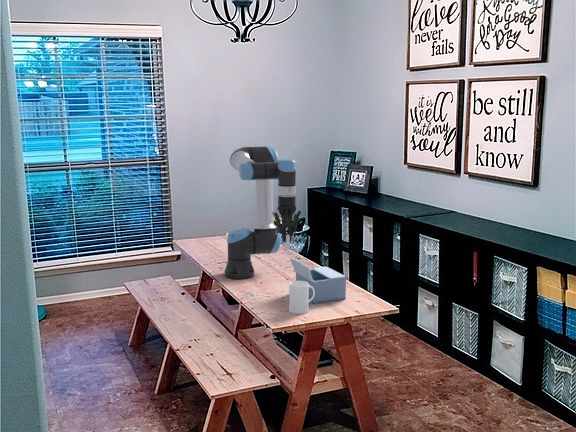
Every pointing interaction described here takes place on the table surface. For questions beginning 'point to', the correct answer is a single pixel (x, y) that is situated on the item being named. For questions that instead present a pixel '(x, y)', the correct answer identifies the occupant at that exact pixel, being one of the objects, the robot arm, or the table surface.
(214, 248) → the table surface
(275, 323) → the table surface
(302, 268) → the flap left
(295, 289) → the mug
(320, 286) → the box
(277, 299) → the table surface
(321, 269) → the flap right
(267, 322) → the table surface
